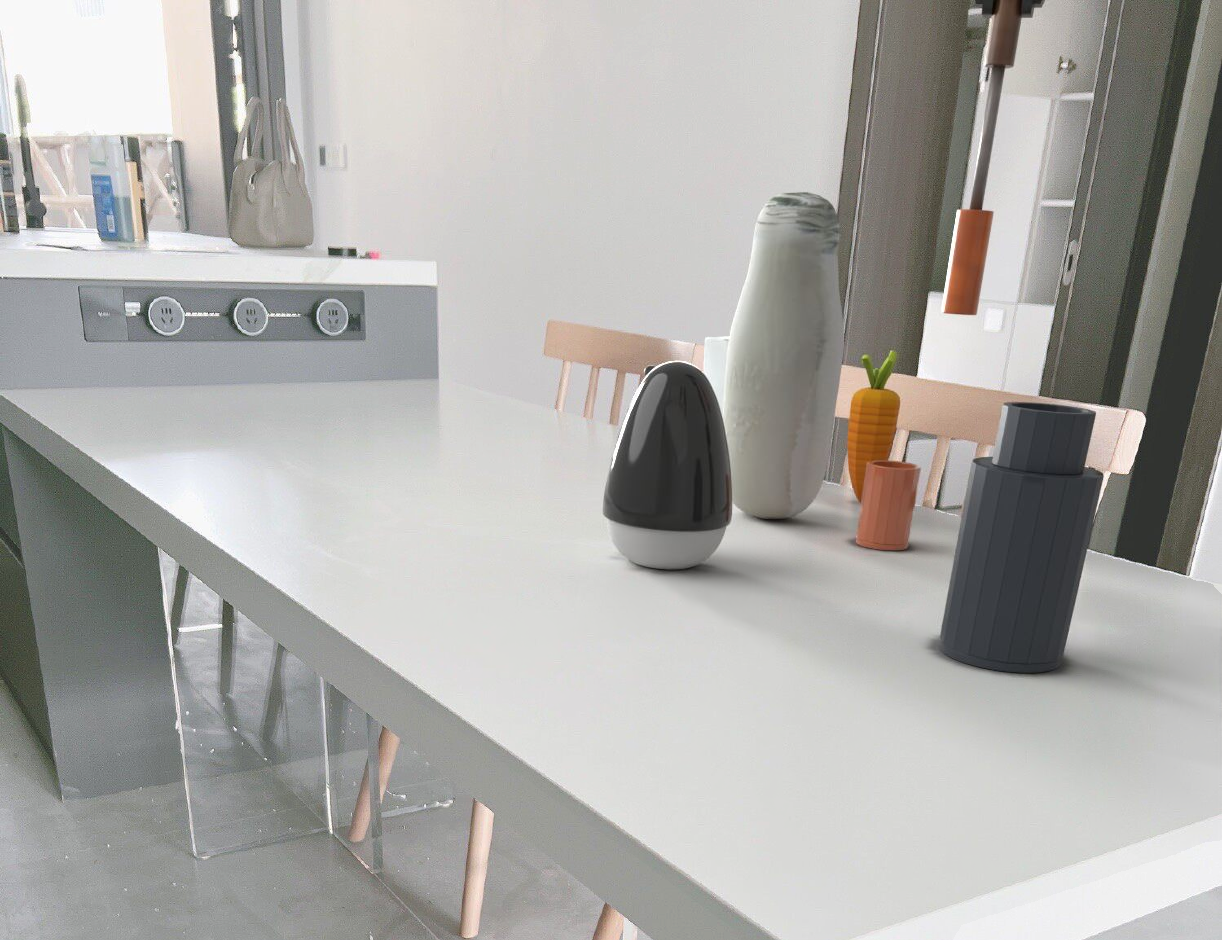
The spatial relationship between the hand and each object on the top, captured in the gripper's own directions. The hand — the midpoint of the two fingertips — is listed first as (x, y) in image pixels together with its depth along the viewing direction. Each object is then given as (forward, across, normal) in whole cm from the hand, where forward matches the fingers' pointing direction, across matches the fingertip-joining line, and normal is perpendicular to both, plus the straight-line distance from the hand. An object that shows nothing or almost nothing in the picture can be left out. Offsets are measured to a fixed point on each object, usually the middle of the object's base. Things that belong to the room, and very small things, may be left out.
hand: (1006, 14), depth 84 cm
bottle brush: (+19, 0, 0) cm, 19 cm away
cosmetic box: (+39, +25, -35) cm, 58 cm away
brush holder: (+39, +4, -10) cm, 40 cm away
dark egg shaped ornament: (+39, +19, +9) cm, 44 cm away
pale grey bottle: (+39, +16, -15) cm, 45 cm away
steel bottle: (+39, -8, +20) cm, 45 cm away
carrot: (+39, +10, -30) cm, 50 cm away
